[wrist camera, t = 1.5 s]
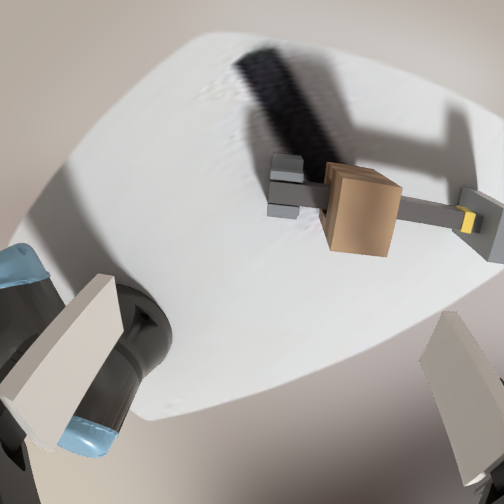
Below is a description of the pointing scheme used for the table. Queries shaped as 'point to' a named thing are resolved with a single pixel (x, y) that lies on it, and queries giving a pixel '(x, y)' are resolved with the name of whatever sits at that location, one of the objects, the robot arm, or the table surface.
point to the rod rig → (410, 209)
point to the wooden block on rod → (359, 210)
